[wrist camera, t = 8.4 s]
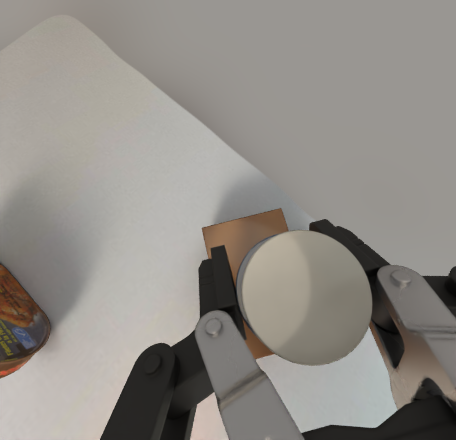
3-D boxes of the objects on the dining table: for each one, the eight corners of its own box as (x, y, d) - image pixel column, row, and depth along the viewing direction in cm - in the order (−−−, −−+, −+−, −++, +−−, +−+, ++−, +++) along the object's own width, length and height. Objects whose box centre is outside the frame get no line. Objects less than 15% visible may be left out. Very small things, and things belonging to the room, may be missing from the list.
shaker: (282, 247, 17) (346, 209, 7) (299, 302, 16) (405, 352, 6) (230, 260, 17) (220, 241, 7) (244, 317, 16) (257, 392, 6)
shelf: (272, 220, 25) (281, 207, 20) (305, 326, 22) (325, 340, 18) (208, 236, 25) (201, 227, 20) (232, 345, 22) (232, 365, 17)
